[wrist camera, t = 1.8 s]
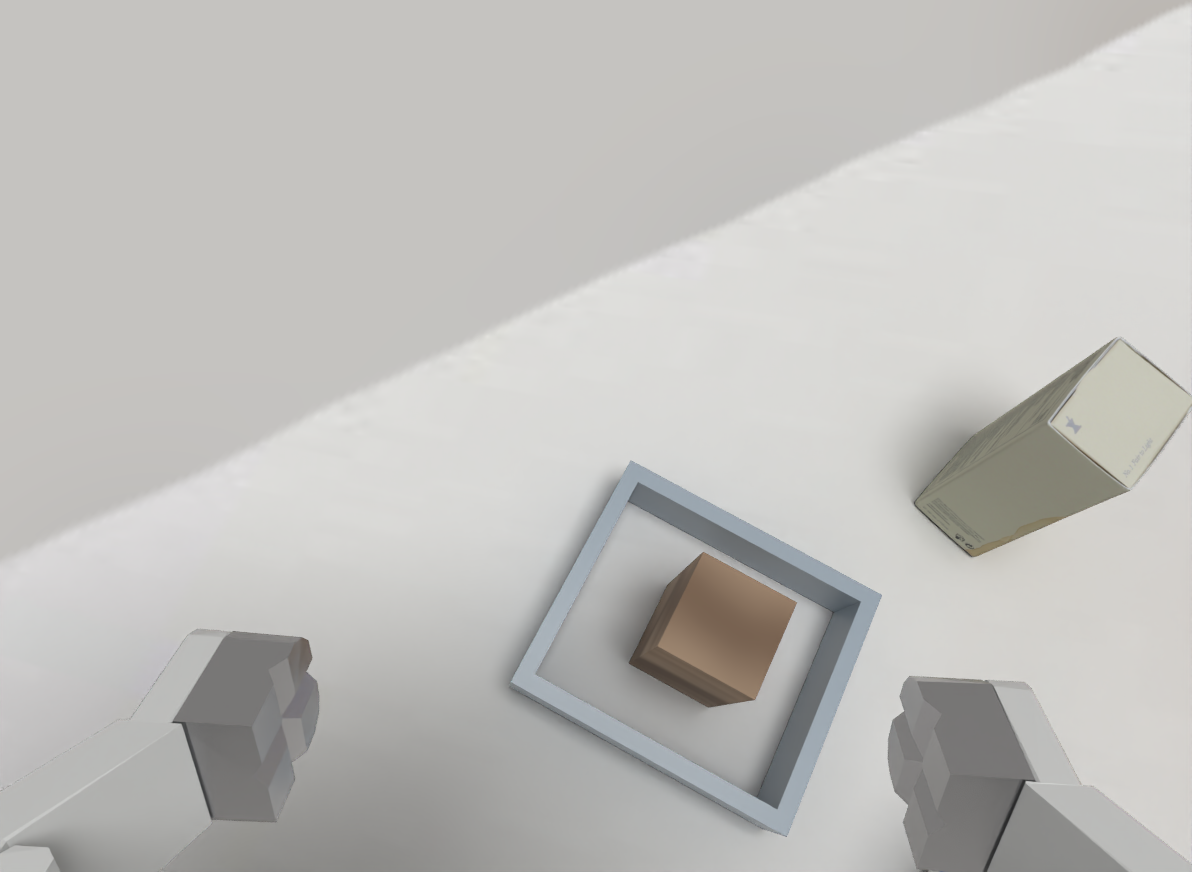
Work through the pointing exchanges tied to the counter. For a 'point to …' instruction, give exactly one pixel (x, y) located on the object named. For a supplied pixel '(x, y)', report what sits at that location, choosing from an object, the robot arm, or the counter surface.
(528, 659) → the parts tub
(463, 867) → the counter surface
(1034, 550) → the counter surface
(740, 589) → the walnut block
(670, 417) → the counter surface
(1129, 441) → the skincare box
